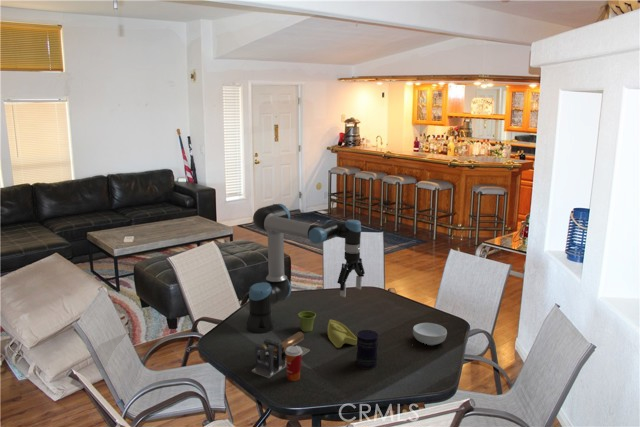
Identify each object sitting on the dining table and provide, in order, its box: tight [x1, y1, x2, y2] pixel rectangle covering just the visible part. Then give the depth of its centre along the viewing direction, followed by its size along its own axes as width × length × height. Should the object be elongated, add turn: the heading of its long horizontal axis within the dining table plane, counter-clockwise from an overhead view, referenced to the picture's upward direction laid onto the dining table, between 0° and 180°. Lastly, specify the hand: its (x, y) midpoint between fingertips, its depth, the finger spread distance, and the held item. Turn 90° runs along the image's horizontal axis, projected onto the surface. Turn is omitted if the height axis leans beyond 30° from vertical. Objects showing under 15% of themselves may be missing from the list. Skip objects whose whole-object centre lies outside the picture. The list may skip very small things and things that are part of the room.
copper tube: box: [272, 331, 305, 356], centre depth 263 cm, size 20×5×5 cm, turn 146°
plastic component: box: [326, 319, 357, 349], centre depth 284 cm, size 20×7×10 cm
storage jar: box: [356, 329, 379, 370], centre depth 258 cm, size 10×10×15 cm
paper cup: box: [285, 345, 303, 382], centre depth 244 cm, size 8×8×14 cm
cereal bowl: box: [412, 322, 448, 346], centre depth 283 cm, size 17×17×7 cm
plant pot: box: [297, 310, 317, 333], centre depth 294 cm, size 9×9×9 cm
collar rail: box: [251, 338, 311, 379], centre depth 259 cm, size 32×10×13 cm, turn 146°
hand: (350, 292), depth 274 cm, fingers open, 13 cm apart
